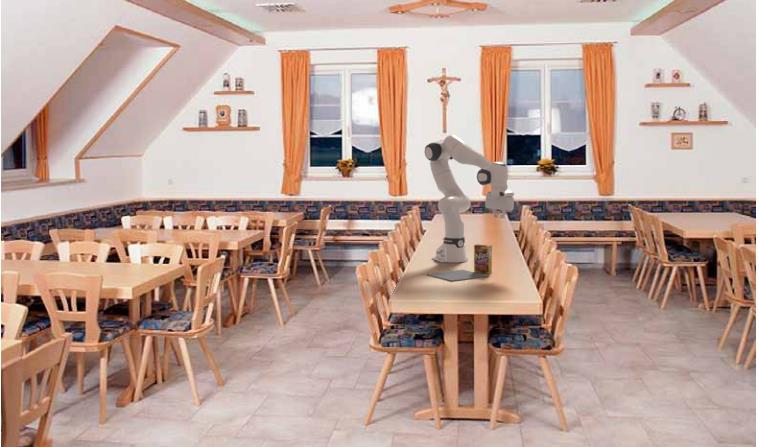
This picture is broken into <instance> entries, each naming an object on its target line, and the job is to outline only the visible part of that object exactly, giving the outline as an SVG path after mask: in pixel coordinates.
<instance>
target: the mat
mask: <svg viewBox="0 0 759 447" xmlns="http://www.w3.org/2000/svg"><path fill="white" fill-rule="evenodd" d="M426 276H429V277H433V278H436V279H440V280H443V281H447V282H453V283H454V282H460V281H467V280H468V281H469V280H474V279H483V278H489V274H484V273H475V272H474V271H469V270H465V269H458V270H449V271H441V272H433V273H426Z"/></svg>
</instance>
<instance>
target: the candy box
mask: <svg viewBox="0 0 759 447" xmlns="http://www.w3.org/2000/svg"><path fill="white" fill-rule="evenodd" d="M492 254H493V245H489V244H479V243H475V244H474V245H473V272H475V273H479V274H484V275H490V274H492V273H493V272H492V271H493V269H492V268H493V264H492V262H493V261H492V260H493V256H492Z"/></svg>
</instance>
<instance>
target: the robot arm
mask: <svg viewBox="0 0 759 447" xmlns="http://www.w3.org/2000/svg"><path fill="white" fill-rule="evenodd" d="M424 156H425V158H426V159H427V160H428V161H430V162H429V165H430V169H431V174H432V177H433V179H434V182H435V183H436V186H437V188H438V190H439V192H441V193H442V194H443V195H444V197H442V198H441V199H439V200H438V203H437V208H438V210H439V212H440V213H441V214H442V217H443V221H444V235H445V236H444V237H443V238H442V240H443V243H442V244H441V245H440V246H439V247H438V248H437V249H436V251H435V255H434V256H432V257H431V259H432V260H435V261H437V262H440V263H450V264H452V263H465V262H467V260H469V258H468V257H467V249H466V245H465V243H466V242H465V241H466V239H465V224H464V222H463V221H462V219H461V214H462V213H465V212H466V211H468V210H469V209H470V207H471V205H472V204H471V203H472V202H471V199H470V198H469V196H468V195H466V194H465V193H464V192H463V190H462V188H460V186H459V185H458V183H457V181H456V179H455V177H454V174H453V171H452V169H451V167H450V164H449V160H450V161H451V160H452V161H453V160H454V161H455V162H457V163H459V164H461V165H471V166H476V167H478V168H480V169H479V170H478V171H477V173H476V179H477V183H478V184H479V185H481V186H485V187H486V186H490V191H488V192H487V193H486V196H485V203H484V207H485V208H486V209H491V211H492V214H493V218H498V217H499V216H500V217H499V218H500V219H505V217H506V216H505V215H506V214H507V211H508V212H509V211H514V208H515V198H514V196H515V192H514V191H513V190H512V191H511V190H510V189H509V188H508V179H509V178H508V176H509V175H508V173H509V172H508V166H507V164H506V163H504V162H501V161H493V162H492V161H491V160H489V159H488V158H486V157H485V156H484V155H482V154H481V153H480V152H477V150H475V149H473V148H472V147H471V146H469V144H467V143H466V142H465V141H463V140H462V138H460V137H458V136H456V135H454V134H450V135H447V136H446V137H445V138H444V139H440V140H438V141H435V142H431V143H428V144H426V145H425V147H424ZM497 210H499V211H500V210H501V214H500V215H499V213H497Z"/></svg>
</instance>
